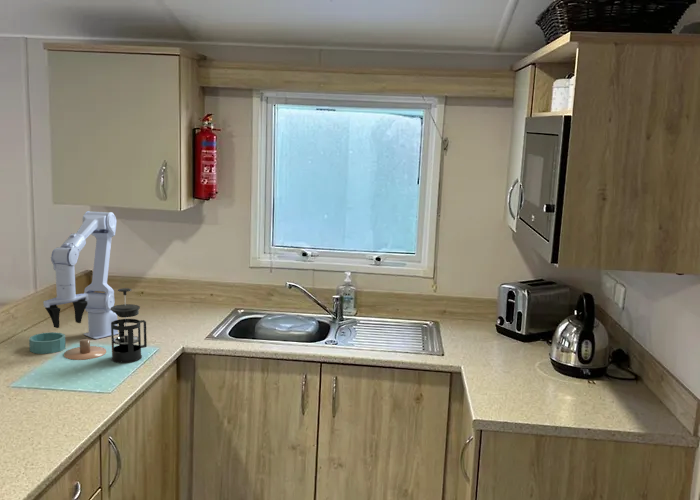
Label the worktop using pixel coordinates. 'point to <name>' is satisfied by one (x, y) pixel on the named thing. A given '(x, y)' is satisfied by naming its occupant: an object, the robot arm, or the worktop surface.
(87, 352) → the lid
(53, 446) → the worktop surface
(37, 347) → the bowl
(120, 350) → the french press
